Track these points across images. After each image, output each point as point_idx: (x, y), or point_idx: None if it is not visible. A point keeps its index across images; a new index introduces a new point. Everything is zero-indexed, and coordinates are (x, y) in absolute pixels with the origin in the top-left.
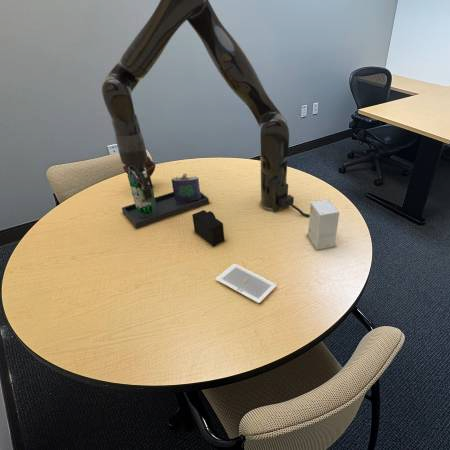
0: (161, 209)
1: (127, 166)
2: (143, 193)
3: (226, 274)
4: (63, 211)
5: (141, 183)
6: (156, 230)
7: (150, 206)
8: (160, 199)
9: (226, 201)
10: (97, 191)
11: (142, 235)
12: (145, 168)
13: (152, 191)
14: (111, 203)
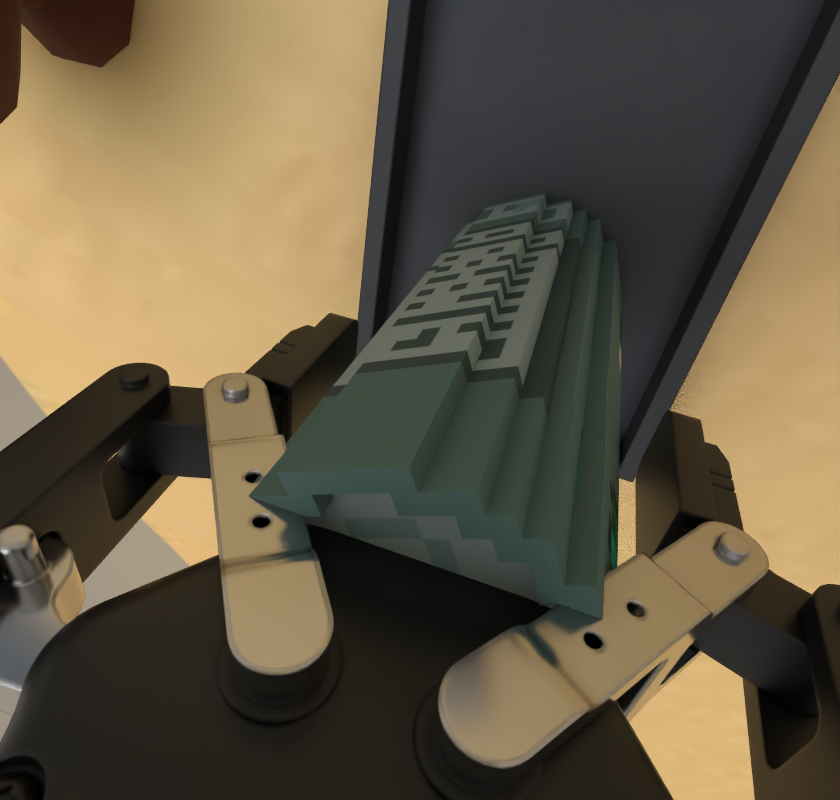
0: (584, 155)
1: (81, 578)
2: (639, 530)
3: None
4: (159, 508)
5: (663, 686)
6: (803, 391)
7: (620, 346)
8: (417, 36)
9: None
10: (4, 293)
11: (743, 479)
12: (546, 745)
13: (587, 333)
14: (199, 335)
